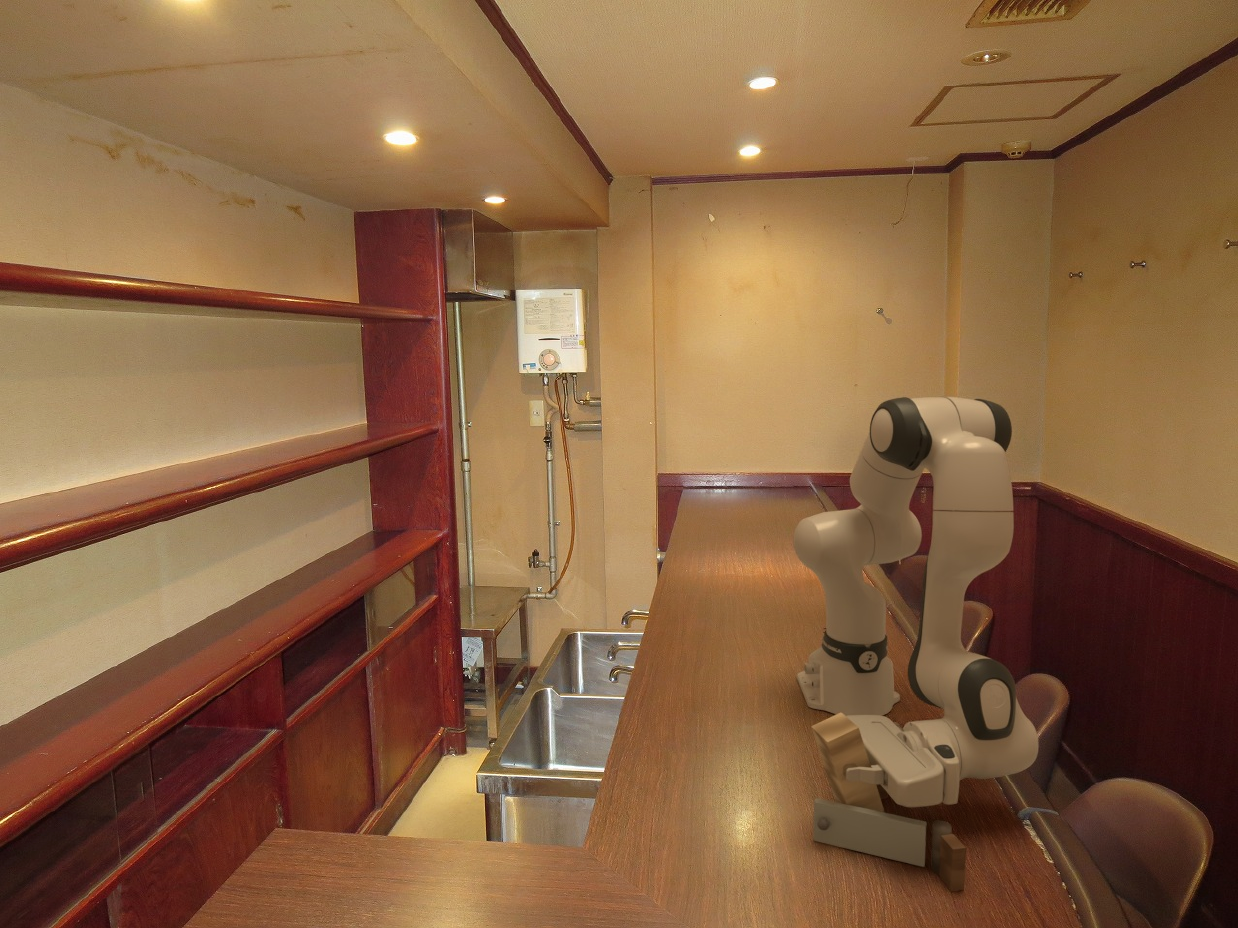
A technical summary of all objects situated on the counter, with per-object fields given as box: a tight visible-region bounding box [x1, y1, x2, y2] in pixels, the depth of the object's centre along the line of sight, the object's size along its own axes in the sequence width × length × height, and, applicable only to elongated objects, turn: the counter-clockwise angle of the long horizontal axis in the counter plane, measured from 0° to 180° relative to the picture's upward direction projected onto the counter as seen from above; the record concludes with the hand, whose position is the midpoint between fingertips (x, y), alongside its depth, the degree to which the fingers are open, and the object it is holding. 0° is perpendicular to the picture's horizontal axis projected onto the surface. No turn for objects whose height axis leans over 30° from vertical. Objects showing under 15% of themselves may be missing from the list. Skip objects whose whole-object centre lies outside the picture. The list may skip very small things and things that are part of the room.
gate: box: [813, 797, 927, 868], centre depth 114 cm, size 15×3×6 cm, turn 65°
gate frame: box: [876, 784, 967, 892], centre depth 119 cm, size 27×2×6 cm, turn 8°
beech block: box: [810, 713, 885, 812], centre depth 118 cm, size 5×5×14 cm
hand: (835, 761), depth 117 cm, fingers closed on beech block, 5 cm apart
